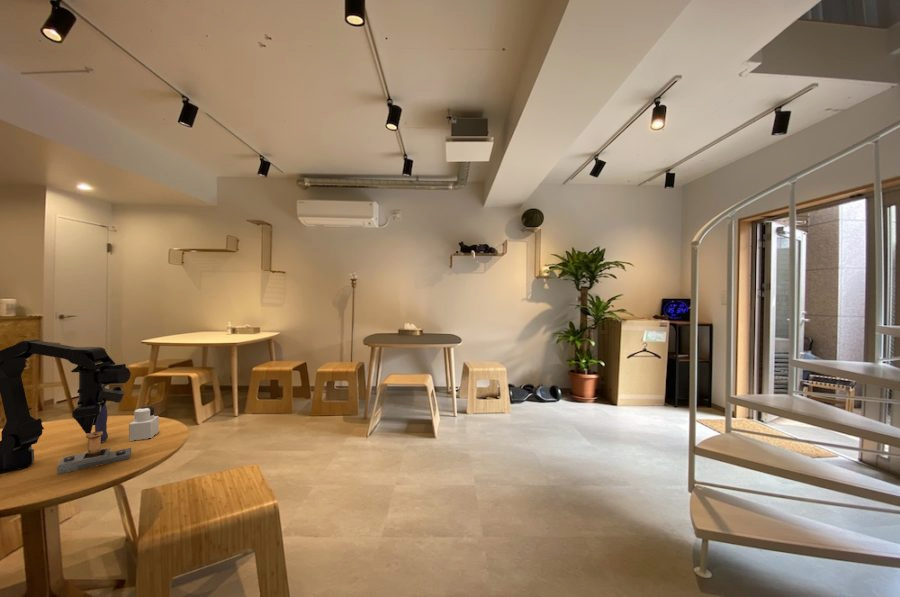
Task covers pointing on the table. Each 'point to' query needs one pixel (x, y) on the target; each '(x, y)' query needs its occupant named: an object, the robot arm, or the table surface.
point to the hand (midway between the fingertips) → (90, 429)
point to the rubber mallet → (102, 422)
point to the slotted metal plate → (91, 460)
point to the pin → (94, 443)
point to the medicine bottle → (143, 424)
